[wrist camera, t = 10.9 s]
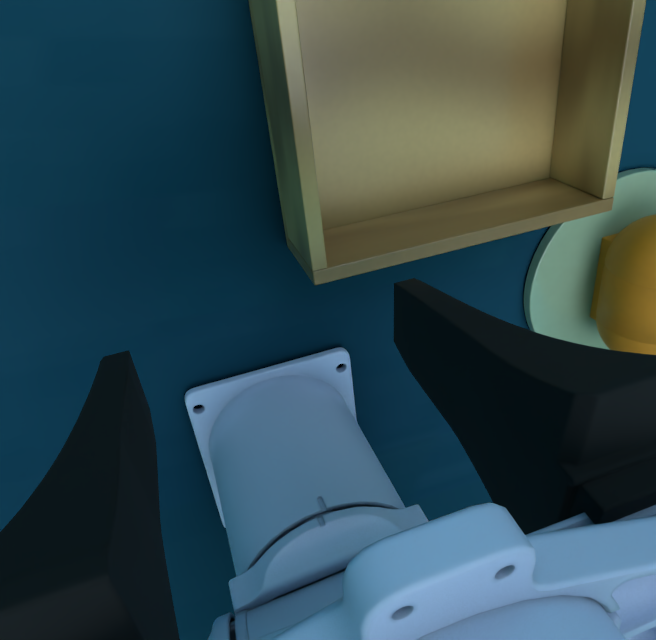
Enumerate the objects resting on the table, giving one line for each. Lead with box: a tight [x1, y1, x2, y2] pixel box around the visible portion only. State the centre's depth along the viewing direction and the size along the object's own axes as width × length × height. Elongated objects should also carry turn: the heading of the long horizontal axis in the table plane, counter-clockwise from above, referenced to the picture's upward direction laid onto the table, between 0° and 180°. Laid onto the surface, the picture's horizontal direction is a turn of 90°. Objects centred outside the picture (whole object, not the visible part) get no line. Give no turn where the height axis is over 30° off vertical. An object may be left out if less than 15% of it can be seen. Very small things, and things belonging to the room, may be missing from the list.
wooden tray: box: [248, 0, 646, 285], centre depth 21 cm, size 13×13×4 cm
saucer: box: [524, 168, 656, 350], centre depth 31 cm, size 11×11×1 cm
